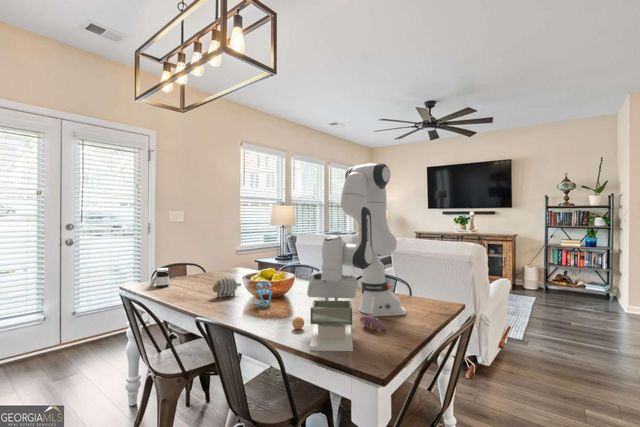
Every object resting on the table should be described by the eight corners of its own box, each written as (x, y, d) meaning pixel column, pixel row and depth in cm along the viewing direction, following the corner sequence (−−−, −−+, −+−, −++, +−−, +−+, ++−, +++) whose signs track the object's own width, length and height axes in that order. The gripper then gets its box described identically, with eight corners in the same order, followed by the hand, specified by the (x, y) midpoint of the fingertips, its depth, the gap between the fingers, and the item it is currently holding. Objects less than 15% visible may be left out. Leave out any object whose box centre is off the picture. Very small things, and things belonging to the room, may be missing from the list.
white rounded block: (169, 287, 214) (169, 269, 214) (150, 289, 208) (150, 270, 208) (167, 283, 224) (167, 266, 224) (149, 285, 219) (149, 268, 219)
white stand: (315, 320, 147) (315, 301, 147) (349, 321, 147) (349, 301, 147) (309, 350, 115) (309, 326, 115) (352, 351, 115) (352, 326, 115)
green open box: (315, 308, 145) (315, 295, 146) (348, 308, 144) (348, 295, 145) (310, 324, 116) (310, 308, 116) (352, 325, 115) (352, 308, 116)
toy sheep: (208, 297, 188) (208, 277, 188) (235, 292, 200) (235, 274, 200) (217, 301, 181) (217, 280, 180) (244, 295, 192) (244, 276, 192)
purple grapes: (361, 329, 140) (357, 316, 138) (367, 322, 143) (363, 309, 141) (381, 336, 133) (376, 322, 131) (386, 328, 136) (382, 315, 134)
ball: (304, 327, 139) (304, 315, 139) (303, 331, 134) (303, 319, 134) (293, 326, 139) (293, 315, 139) (291, 331, 134) (291, 318, 134)
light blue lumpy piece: (260, 308, 167) (260, 284, 167) (253, 304, 174) (253, 281, 174) (274, 305, 172) (274, 282, 171) (267, 302, 178) (267, 279, 178)
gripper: (356, 274, 140) (355, 307, 140) (308, 273, 141) (307, 305, 141) (357, 276, 134) (356, 311, 134) (307, 275, 135) (306, 309, 135)
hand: (331, 308), depth 137 cm, fingers closed, pressing on green open box
